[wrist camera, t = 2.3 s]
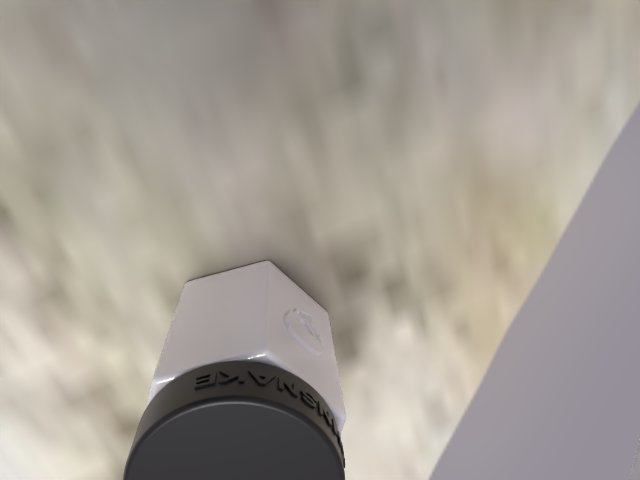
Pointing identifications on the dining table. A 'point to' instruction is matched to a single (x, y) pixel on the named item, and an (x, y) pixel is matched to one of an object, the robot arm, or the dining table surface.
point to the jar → (243, 386)
